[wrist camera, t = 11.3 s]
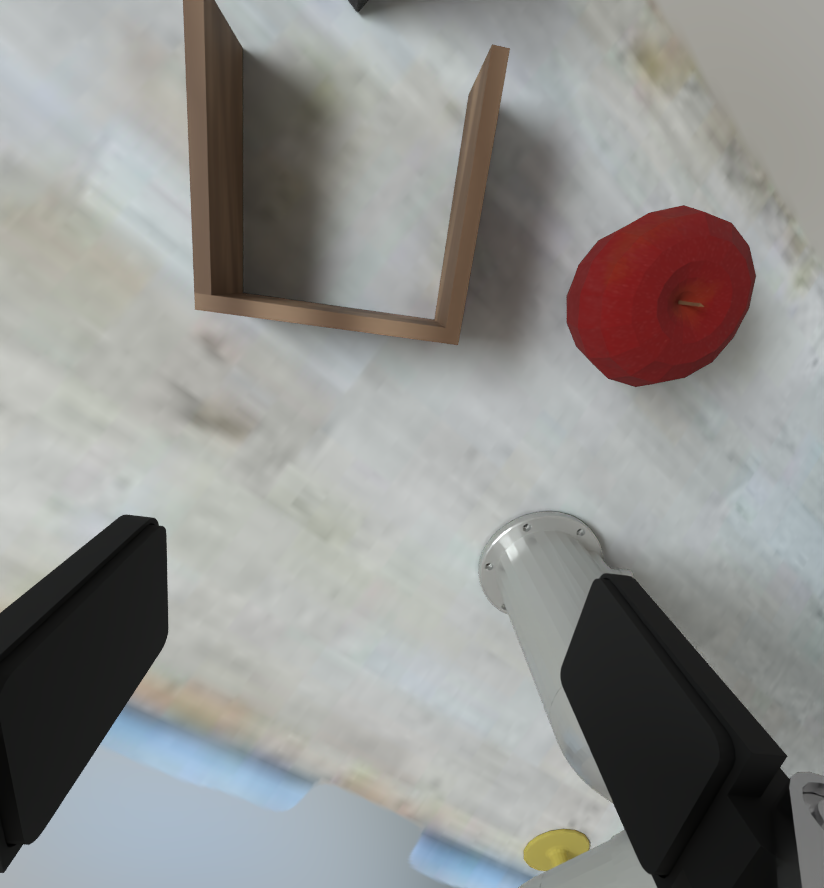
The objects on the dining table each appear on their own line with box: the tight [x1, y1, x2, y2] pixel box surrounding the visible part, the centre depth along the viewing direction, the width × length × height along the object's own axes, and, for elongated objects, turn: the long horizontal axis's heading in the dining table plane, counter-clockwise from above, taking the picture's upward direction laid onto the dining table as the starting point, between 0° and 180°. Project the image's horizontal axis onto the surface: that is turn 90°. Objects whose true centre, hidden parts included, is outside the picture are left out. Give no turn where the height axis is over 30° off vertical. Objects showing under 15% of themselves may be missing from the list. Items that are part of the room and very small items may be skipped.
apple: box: [567, 205, 756, 387], centre depth 29 cm, size 11×11×12 cm
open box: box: [183, 0, 510, 345], centre depth 28 cm, size 17×16×6 cm
